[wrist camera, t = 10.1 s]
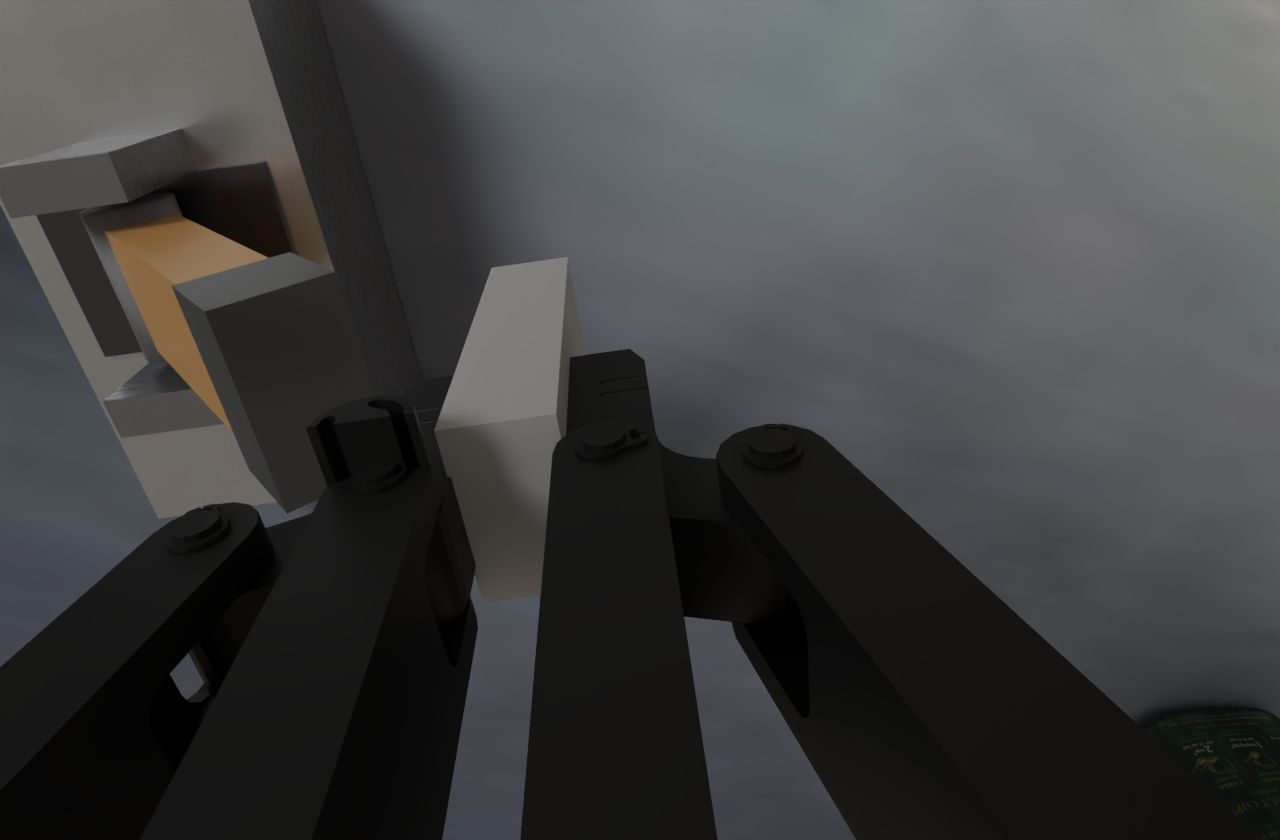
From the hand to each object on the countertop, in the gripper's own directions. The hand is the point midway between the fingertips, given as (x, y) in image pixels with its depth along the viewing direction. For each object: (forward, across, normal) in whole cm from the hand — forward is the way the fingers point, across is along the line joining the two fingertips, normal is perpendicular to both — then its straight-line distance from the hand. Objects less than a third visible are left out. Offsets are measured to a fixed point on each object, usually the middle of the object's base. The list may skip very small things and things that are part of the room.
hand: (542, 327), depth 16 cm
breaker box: (+16, -12, 0) cm, 20 cm away
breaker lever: (+9, -13, 0) cm, 16 cm away
